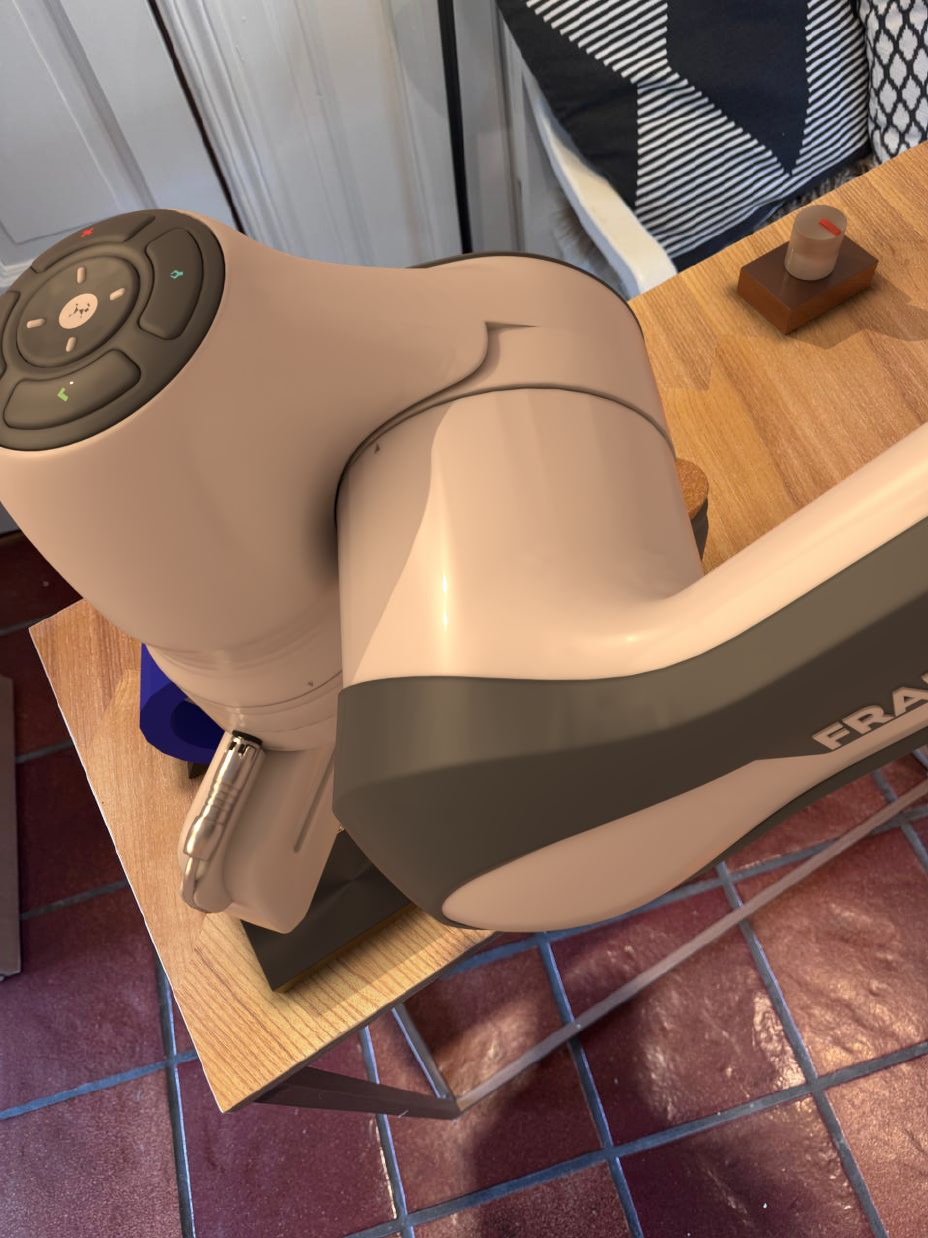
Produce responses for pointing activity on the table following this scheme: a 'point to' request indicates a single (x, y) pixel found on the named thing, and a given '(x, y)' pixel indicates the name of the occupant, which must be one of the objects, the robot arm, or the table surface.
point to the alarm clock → (175, 719)
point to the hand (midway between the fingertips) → (369, 746)
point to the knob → (815, 242)
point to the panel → (803, 285)
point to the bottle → (695, 499)
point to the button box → (330, 918)
